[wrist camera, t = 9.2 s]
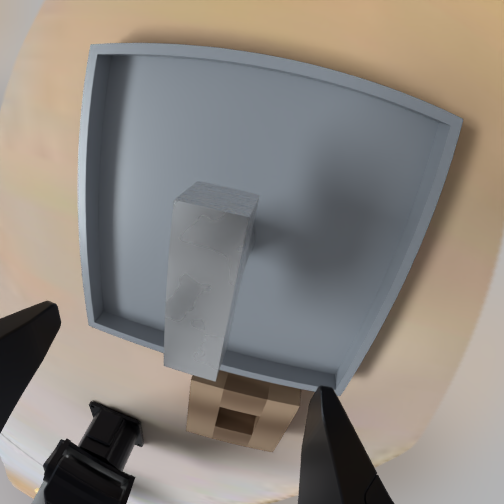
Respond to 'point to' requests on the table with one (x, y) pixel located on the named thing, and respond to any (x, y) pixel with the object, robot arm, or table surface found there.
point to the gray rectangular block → (205, 274)
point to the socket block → (241, 410)
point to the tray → (270, 201)
